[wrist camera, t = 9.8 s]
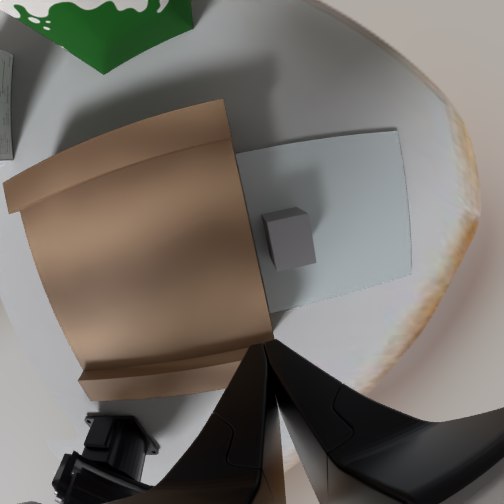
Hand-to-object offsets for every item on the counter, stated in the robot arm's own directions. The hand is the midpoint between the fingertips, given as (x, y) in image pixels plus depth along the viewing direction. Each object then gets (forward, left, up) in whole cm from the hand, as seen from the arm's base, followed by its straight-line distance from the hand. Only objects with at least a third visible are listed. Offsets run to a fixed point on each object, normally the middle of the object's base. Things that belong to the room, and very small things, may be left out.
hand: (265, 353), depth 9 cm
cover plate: (+1, -7, -12) cm, 14 cm away
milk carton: (+19, +4, -12) cm, 23 cm away
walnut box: (+1, +6, -12) cm, 13 cm away
